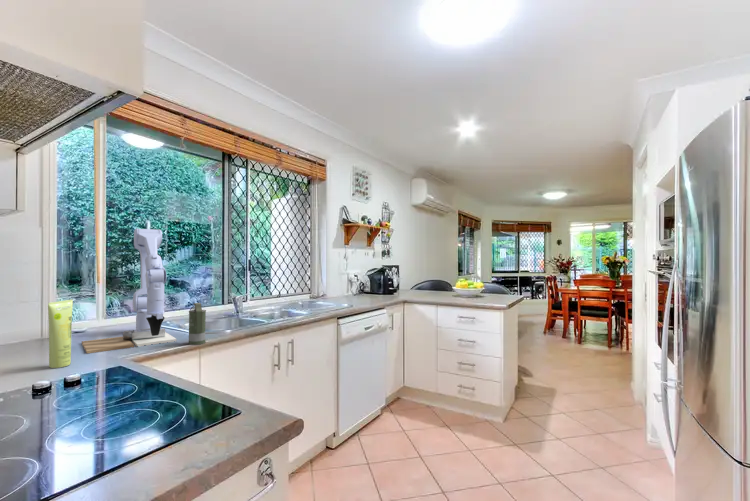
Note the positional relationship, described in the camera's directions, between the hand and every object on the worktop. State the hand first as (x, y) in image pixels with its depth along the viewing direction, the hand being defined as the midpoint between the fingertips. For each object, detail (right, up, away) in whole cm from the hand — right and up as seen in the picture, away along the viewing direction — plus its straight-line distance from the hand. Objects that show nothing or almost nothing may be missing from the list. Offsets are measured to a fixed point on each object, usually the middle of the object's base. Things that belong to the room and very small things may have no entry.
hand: (155, 335), depth 144 cm
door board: (-2, -2, +2) cm, 4 cm away
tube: (-9, -2, -33) cm, 34 cm away
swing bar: (-4, -1, 0) cm, 4 cm away
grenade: (+18, -2, -3) cm, 18 cm away
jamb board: (-13, -2, -8) cm, 15 cm away
